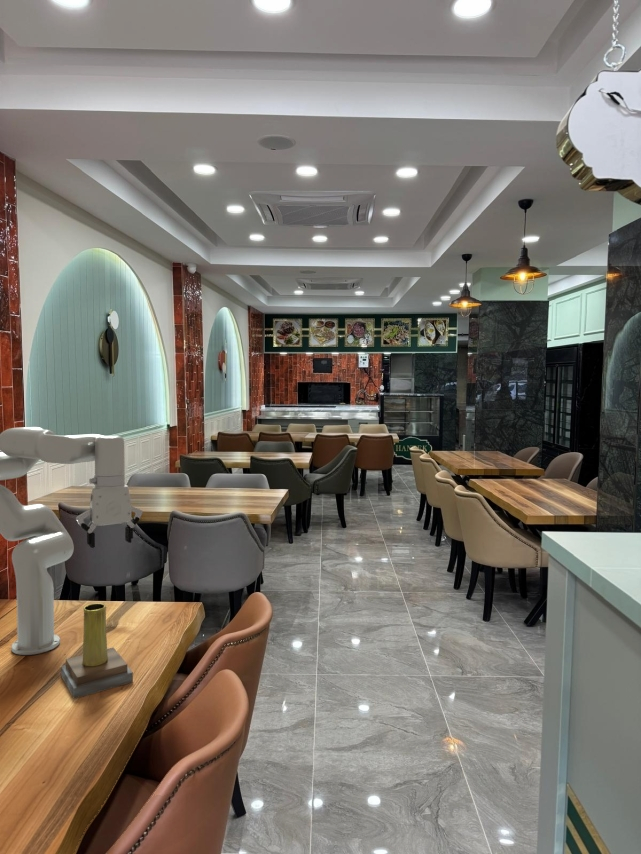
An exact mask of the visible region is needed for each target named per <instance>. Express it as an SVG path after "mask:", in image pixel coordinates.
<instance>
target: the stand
mask: <svg viewBox="0 0 641 854" xmlns="http://www.w3.org/2000/svg"><path fill="white" fill-rule="evenodd" d="M107 656H108V660H107V661H106V662H105V663H104V664H102V665H99V666H94V667H88V666H85V665H83V663H82V661H83V654H81V655H77V656H72V657H69V658H66V659H65V664H64V665H61V666H60V677H61V678H62V680H63V682H64V681H65V682H64V683H65V685H66V687H67V689H68V691H69V692H70V695H71V696H72V697H73V699H75V700H76V699H78V698H81V697H85V696H89V695H93V694H96V693H99V692H103V691H106V690H111V689H113V688H117V687H120V686H123V685H128V684H131V683H133V682H134V673H133V671H132V670H131V668H130V667H129V666H128V663H127V662H126V661H125V659H124V658H123V657H122V656H121V655H120V654H119V652H118V651H117V650H116V648H114V647H109V648H107ZM127 683H128V684H127Z"/></svg>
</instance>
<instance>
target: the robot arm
mask: <svg viewBox="0 0 641 854" xmlns="http://www.w3.org/2000/svg"><path fill="white" fill-rule="evenodd" d="M40 460H41V461H42V462H44V463H49V464H59V465H60V464H61V465H62V464H64V465H74V464H81V463H88V462H89V463H90V462H94V476H93V477H92V478H89V481H88V482H89V484H90V485H91V484H92V485H94V486H93V487H91V493H90V501H89V502H90V503H89V509H87V510H86V511H83V512H82V513H80V514H79V515H77V516H76V517H75V520H76V521H77V524H78V525H79V526H80V528H82V529H83V530H84V531H85V532H86V544H87V545H88V546H89V547H90V548H92V549H94V548H95V547H96V538H95V537H96V533H95V532H94V530H95V529H96V528H97V526H98V527H99V526H111V525H118V524H119V525H120V524H125V525H126V526H125V527H124V530H125V531H124V532H125V533H124V536H125V542H126V543H129V544H131V543H132V539H134V528H135V526H136V525H137V523H138V522H139V521H140V519H141V517H142V515H143V512H144V511H143V509H142V510H141V509H140V508H137V507H134V506H132V503H131V495H130V494H131V493H130V489H129V485H126V483H125V482H126V481H125V478H126V477H125V476H126V475H125V473H126V472H125V467H126V466H125V440H124V438H123V437H122V436H121V435H102V434H97V433H87V434H73V435H61V434H60V435H59V434H58V435H57V434H56V433H55V432H54V431H52V430H50V429H44V428H42V427H40V426H39V427H38V426H28V427H27V426H26V427H12V428H11V427H10V428H7V429H5V430H4V431H2V432H0V481H5V480H12V479H13V480H14V479H17V478H21V477H23V476H25V475H26V474H28V473H29V471H31V470H32V468H34V466H35V465H37V463H38V462H39V461H40ZM132 512H133V513H135V515H134V517H132ZM88 517H89V523H88V524H86V523H85V521H84V520H85V519H86V518H88ZM0 535H1V536H2V537H3V539H4V540H6V541H8V542H17V541H20V542H19V543H17V545H16V546H15V547H14V548H13V550H12V552H11V562H12V566H13V571H14V575H15V585H16V586H15V587H16V590H15V591H16V625H17V626H16V627H17V628H16V629H17V630H16V631H17V633H16V635H17V636H16V637H17V640H16V641H14V642H13V643H12V644H11V647H10V650H11V652H12V653H14V654H16V655H19V656H32V655H37V654H38V655H39V654H42V653H46V652H49V651H50V650H53V649H55V648H56V647H58V646H59V645H60V643H61V638H60V636H59V635H57V634H55V611H54V610H55V605H54V604H55V603H54V602H55V601H54V600H55V599H54V595H55V593H54V591H55V590H54V581H53V578H52V576H51V575H50V573H49V572H48V568H50V567H52V566H56V565H58V564H61V563H64V562H66V561H68V560H69V559H71V557H72V555H73V553H74V550H75V549H74V547H75V545H74V542H73V539H72V537H71V535H70V534H69V532H68V531H67V529H66V528H65V526H64V525H63V523H62V522H61V520H59V518H58V515H56V513H55V512H54V511H53V510H52V508H50V506H47V505H45V504H42V503H34V504H33V503H32V504H27V505H24V504H22V503H21V502H20V501H19V500H18V498H17V497H16V495H15V494H14V492H13V491H11V490H10V489H9V488H7V487H6V486H5V485H2V484H1V483H0ZM21 540H22V541H21Z"/></svg>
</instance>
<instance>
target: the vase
mask: <svg viewBox="0 0 641 854" xmlns="http://www.w3.org/2000/svg"><path fill="white" fill-rule="evenodd" d="M82 637H83V640H82V647H83V648H82V655H83V661H82V663H83V665H85V666H88V667H94V666H99V665H102V664H104V663H105V662H106V661H107V660H108V656H107V649H108V640H107V606H106V604H104V603H102V602H101V603H100V602H97V603H96V602H94V603H90V604H87V605H85V606H84V607H83V636H82Z"/></svg>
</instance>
